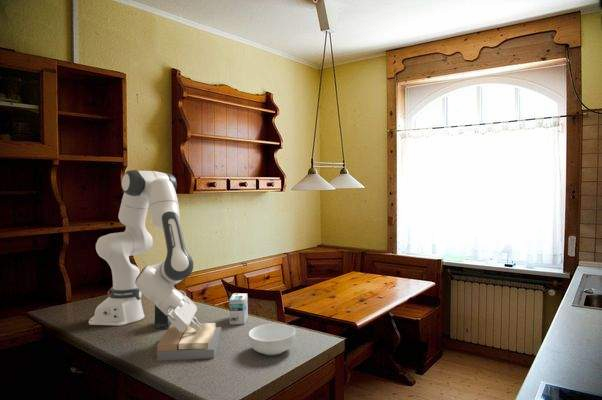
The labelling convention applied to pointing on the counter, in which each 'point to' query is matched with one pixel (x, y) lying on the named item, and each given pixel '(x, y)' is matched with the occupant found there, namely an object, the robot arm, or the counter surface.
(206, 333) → the birch plank
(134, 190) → the robot arm
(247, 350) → the counter surface
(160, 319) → the small box
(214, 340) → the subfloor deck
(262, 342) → the cereal bowl
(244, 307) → the light bulb box
